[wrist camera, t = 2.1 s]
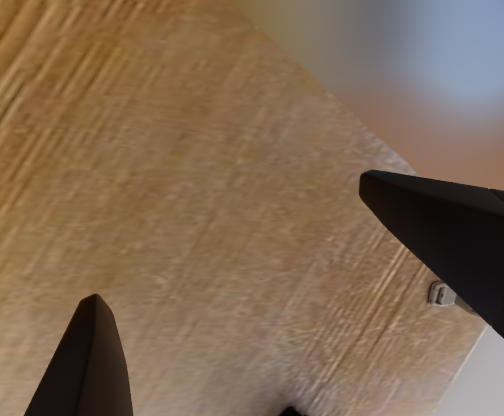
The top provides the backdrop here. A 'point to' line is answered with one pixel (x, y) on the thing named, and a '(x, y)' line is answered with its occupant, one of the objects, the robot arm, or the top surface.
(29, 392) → the top surface
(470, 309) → the strap clip
